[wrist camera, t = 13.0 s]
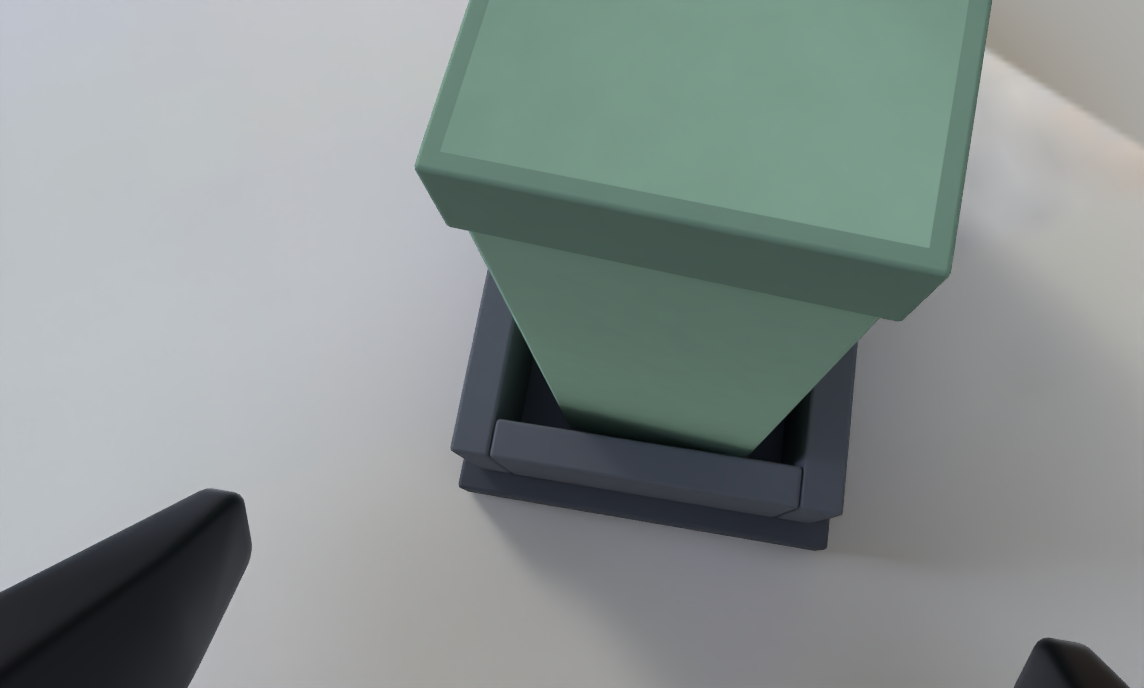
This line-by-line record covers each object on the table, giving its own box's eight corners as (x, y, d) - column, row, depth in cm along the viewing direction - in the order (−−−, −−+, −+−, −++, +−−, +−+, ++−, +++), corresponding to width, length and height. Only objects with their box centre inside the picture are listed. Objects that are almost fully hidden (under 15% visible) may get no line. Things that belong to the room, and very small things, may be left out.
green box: (742, 473, 18) (951, 276, 6) (563, 430, 19) (411, 168, 7) (800, 188, 20) (1060, -432, 8) (634, 156, 21) (622, -467, 8)
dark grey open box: (817, 551, 19) (863, 546, 15) (465, 491, 20) (424, 472, 16) (859, 107, 22) (906, 7, 18) (550, 74, 23) (531, -26, 19)
